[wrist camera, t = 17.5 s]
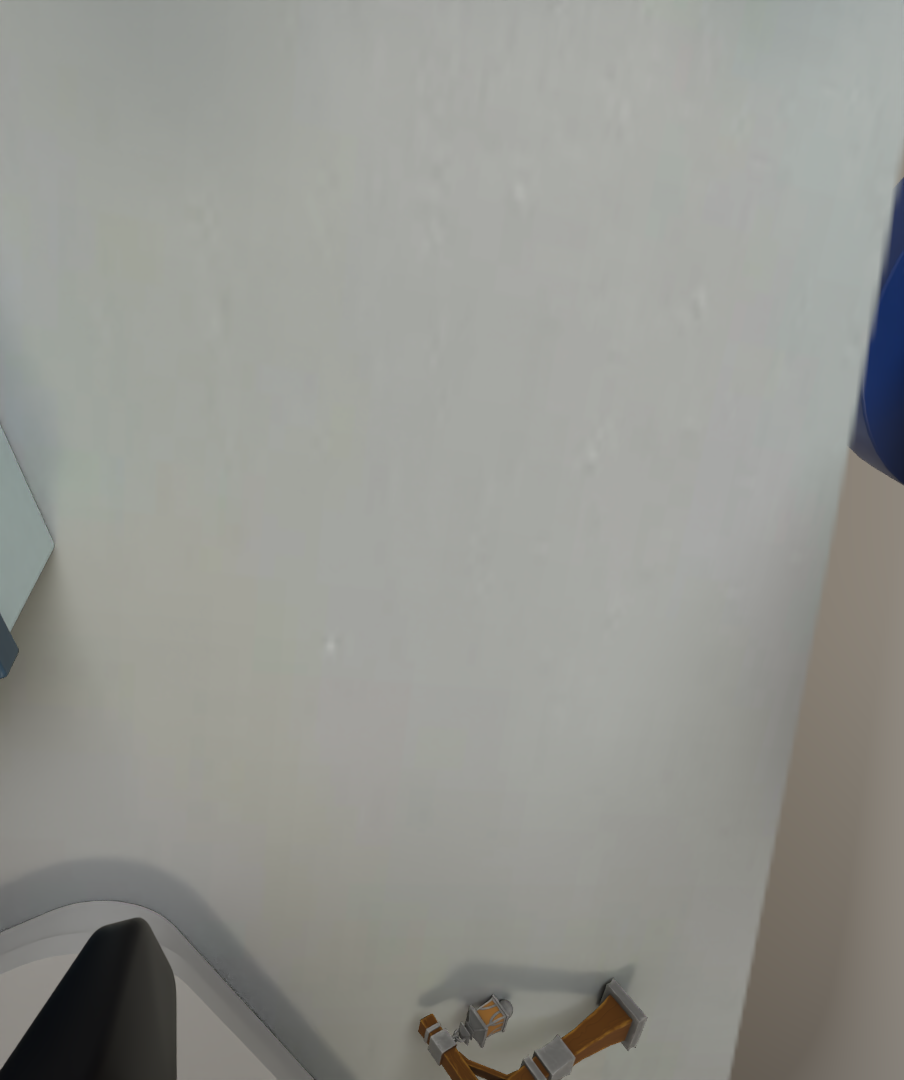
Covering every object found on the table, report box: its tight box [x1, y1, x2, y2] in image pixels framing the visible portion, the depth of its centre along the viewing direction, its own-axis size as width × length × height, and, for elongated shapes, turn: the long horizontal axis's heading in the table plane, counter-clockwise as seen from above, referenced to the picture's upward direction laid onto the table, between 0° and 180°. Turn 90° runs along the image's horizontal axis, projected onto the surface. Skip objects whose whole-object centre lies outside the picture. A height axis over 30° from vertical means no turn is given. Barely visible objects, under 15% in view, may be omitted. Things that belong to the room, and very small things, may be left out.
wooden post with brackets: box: [418, 978, 648, 1080], centre depth 30 cm, size 2×8×4 cm, turn 81°
